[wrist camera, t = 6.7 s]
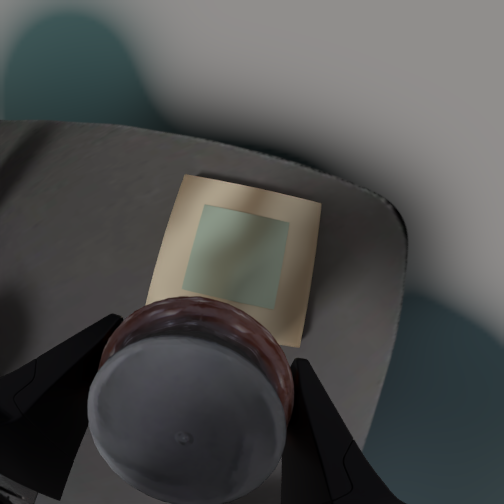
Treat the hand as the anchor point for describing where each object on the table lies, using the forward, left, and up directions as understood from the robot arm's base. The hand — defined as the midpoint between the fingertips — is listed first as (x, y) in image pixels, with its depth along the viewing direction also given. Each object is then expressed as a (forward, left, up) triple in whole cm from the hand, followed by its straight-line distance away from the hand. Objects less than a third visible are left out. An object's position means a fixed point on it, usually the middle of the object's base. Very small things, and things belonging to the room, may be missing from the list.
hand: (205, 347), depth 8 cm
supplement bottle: (0, +1, -7) cm, 7 cm away
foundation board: (+3, -5, -13) cm, 14 cm away
